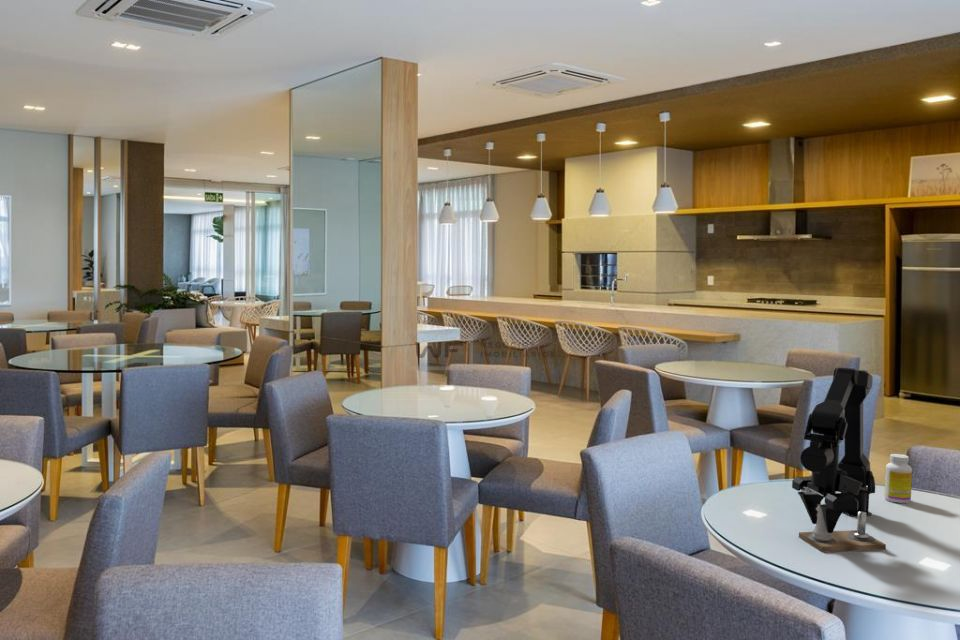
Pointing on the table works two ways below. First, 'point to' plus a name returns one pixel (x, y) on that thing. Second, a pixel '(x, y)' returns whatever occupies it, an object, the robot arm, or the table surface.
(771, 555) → the table surface
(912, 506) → the table surface
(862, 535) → the point post
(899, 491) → the supplement bottle
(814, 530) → the rook chess piece
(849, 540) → the board
